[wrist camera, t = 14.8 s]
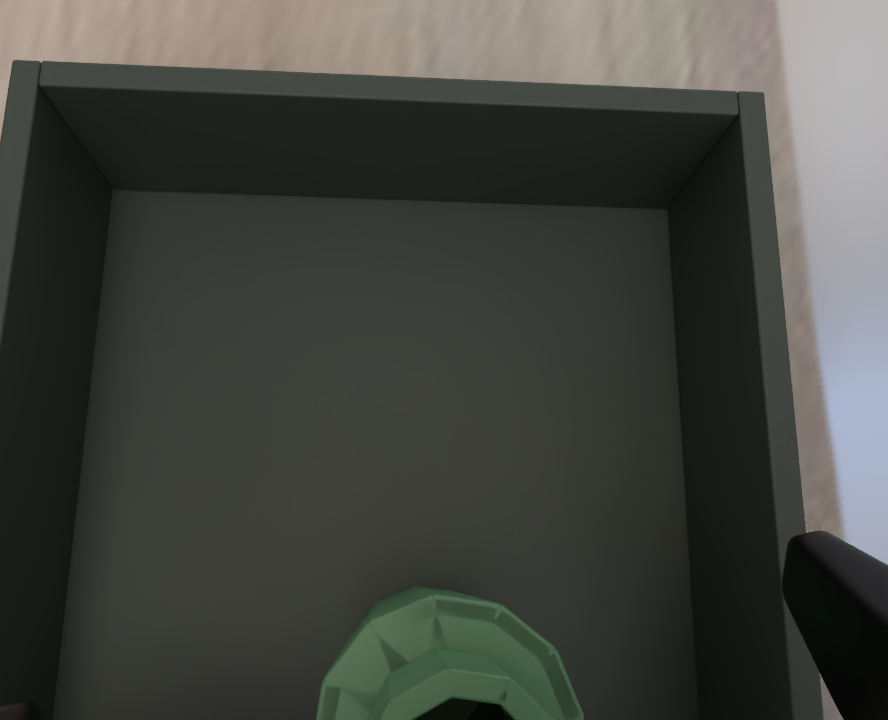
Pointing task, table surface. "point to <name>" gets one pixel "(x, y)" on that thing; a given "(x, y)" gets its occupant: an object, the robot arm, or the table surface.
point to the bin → (389, 386)
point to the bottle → (445, 664)
